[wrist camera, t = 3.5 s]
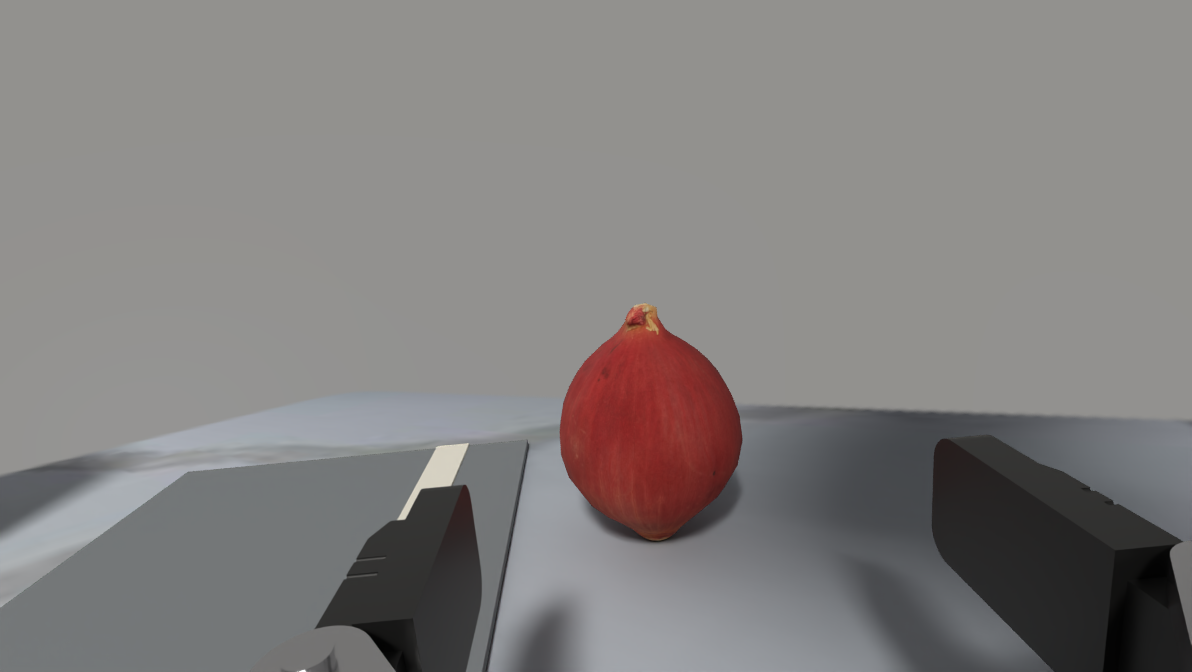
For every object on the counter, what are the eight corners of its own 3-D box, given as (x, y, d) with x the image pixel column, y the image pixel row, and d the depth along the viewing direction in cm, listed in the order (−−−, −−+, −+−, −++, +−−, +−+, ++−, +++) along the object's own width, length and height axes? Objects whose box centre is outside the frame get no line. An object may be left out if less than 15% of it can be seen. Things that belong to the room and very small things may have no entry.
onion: (549, 519, 23) (524, 303, 22) (689, 481, 25) (676, 280, 24) (610, 610, 18) (583, 333, 16) (781, 553, 20) (774, 300, 18)
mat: (528, 445, 30) (527, 437, 30) (462, 792, 13) (459, 775, 13) (189, 477, 30) (187, 470, 30) (-343, 872, 13) (-350, 856, 13)
